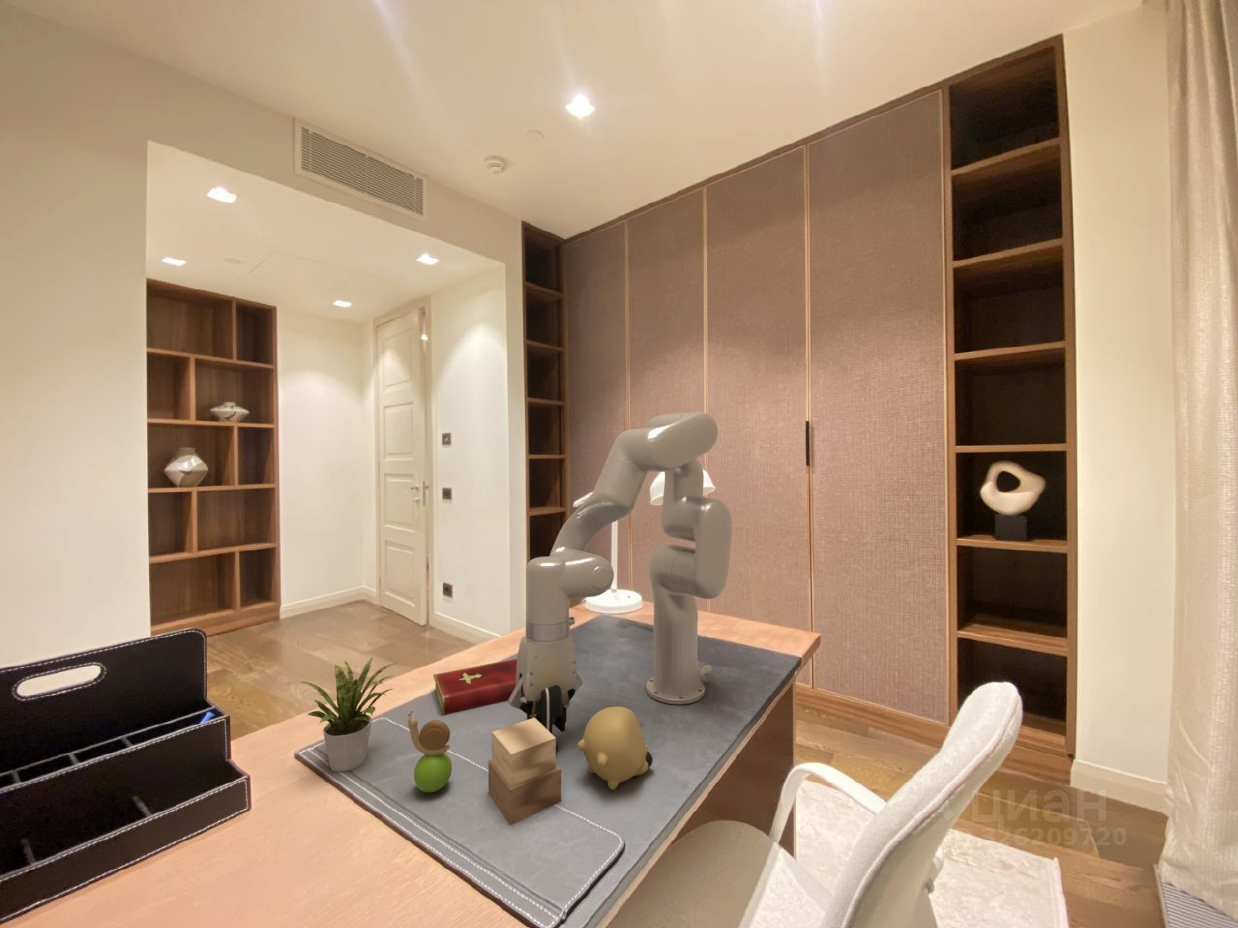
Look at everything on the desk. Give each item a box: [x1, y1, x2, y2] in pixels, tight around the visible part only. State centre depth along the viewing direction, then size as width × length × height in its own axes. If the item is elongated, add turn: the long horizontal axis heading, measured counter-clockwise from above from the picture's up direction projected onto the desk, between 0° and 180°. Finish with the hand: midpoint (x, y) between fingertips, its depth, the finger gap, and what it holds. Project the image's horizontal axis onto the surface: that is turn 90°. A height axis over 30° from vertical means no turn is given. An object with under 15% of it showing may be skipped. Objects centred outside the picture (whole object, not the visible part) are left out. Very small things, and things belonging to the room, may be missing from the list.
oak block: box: [491, 718, 557, 787], centre depth 73 cm, size 7×7×4 cm
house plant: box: [301, 657, 397, 772], centre depth 81 cm, size 14×14×16 cm
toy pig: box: [576, 706, 654, 790], centre depth 78 cm, size 10×12×11 cm
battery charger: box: [538, 685, 562, 752], centre depth 87 cm, size 7×4×11 cm, turn 26°
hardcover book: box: [432, 658, 525, 716], centre depth 106 cm, size 12×21×4 cm, turn 118°
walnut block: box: [487, 759, 562, 826], centre depth 73 cm, size 8×8×5 cm
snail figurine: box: [407, 709, 453, 793], centre depth 75 cm, size 5×6×12 cm
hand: (547, 731), depth 86 cm, fingers closed on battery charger, 4 cm apart
